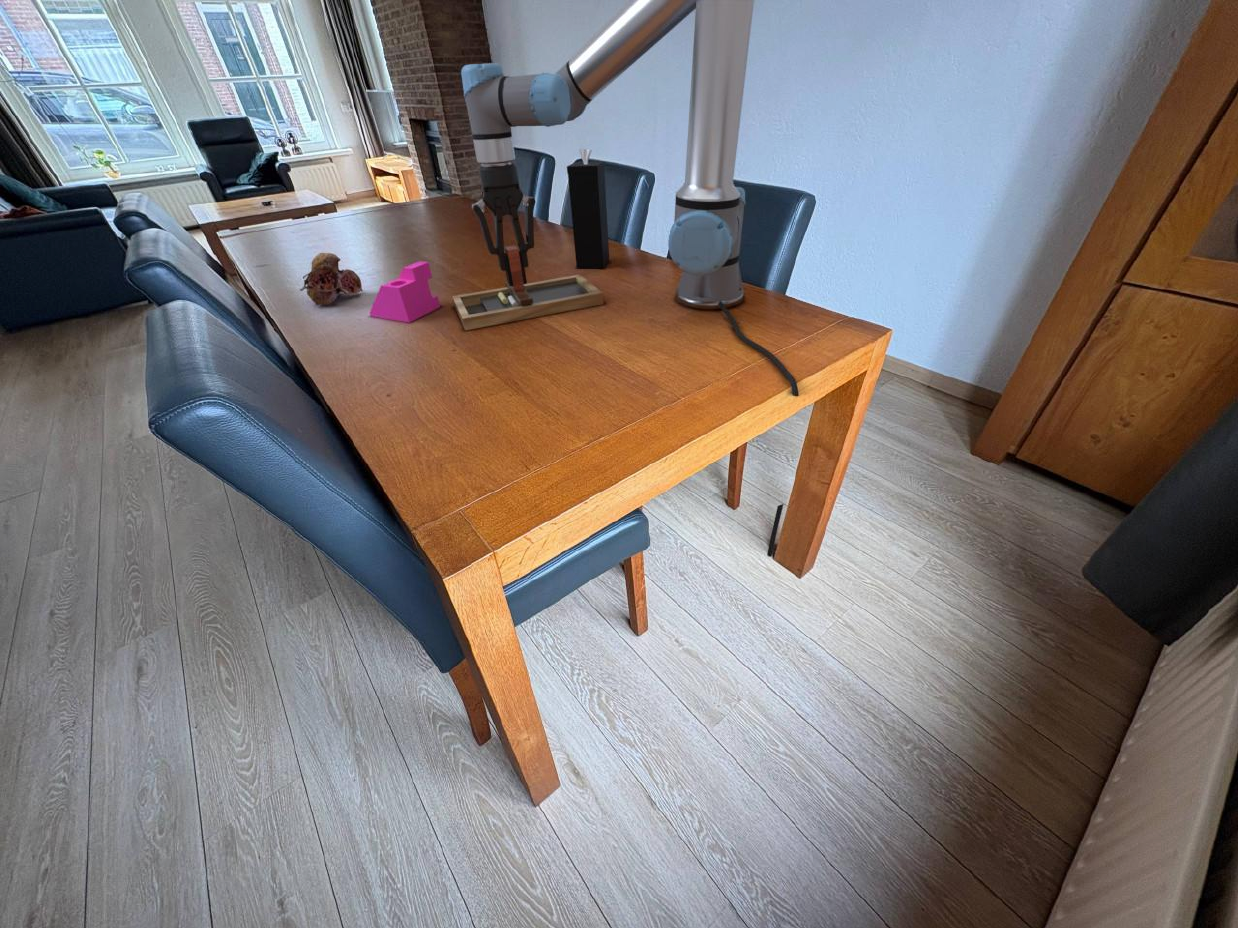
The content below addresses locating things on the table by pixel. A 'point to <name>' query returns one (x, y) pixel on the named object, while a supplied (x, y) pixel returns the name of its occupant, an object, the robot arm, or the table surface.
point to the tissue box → (589, 212)
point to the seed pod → (329, 280)
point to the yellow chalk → (502, 298)
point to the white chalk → (512, 301)
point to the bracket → (406, 295)
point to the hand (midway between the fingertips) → (517, 283)
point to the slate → (546, 300)
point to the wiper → (517, 278)
